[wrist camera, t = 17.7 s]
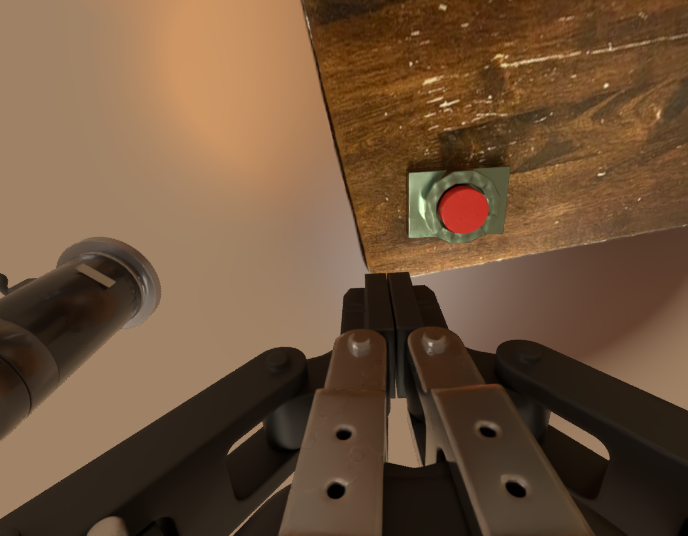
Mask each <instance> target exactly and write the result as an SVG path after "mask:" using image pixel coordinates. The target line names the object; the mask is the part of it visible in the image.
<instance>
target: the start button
mask: <svg viewBox="0 0 688 536" xmlns="http://www.w3.org/2000/svg"><path fill="white" fill-rule="evenodd" d="M488 211H489V206H488V202H487V200H486V198H485V197H484V195H483V194H481V193H480V192H479V191H477V190H476V189H475V188H473V187H470V186H457V187H454V188H452V189H451V190H449V191H448V192H447V193H446V194H445V195H444V196H443V197H442V199H441V201H440V204H439V215H440V218H441V220H442V221H443V223H444V224H445V226H446V227H447V228H448V229H449V230H451V231H452V232H455V233H458V234H467V233H471V232H473V231H475V230H477V229H478V228H479V227H481V226H482V225H483V223H484V222H485V220H486V218H487V216H488Z"/></svg>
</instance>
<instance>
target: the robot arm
mask: <svg viewBox="0 0 688 536" xmlns="http://www.w3.org/2000/svg"><path fill="white" fill-rule="evenodd" d="M7 285H8V279H7V277H6V276H5V275H3V274H1V273H0V291H1V293H3V294H4V295H5V296H4V297H2V298H1V299H0V441H2V440H3V439H4V438H5V437H6V436H7V435H9V434H10V433H11V432H12V431H13V430H14V429H15V428H16V427H17V426H18V425H19V424H20V423H21V422H22V421H23V420H25V419H26V418H27V417H28V416H29V415H30V414H31V413H32V412H33V411H34V410H35V409H36V408H37V407H38V406H39V405H40V404H42V403H43V402H44V401H45V400H46V399H47V398H48V397H49V396H50V395H51V394H52V393H53V392H54V391H55V390H56V389H57V388H58V387H59V386H60V385H61V384H62V383H64V382H65V380H67V378H69V377H70V376H71V375H72V374H73V373H74V372H75V371H76V370H77V369H78V368H79V367H80V366H81V365H83V363H85V362H86V361H87V360H88V359H89V358H90V357H91V356H92V355H93V354H94V353H95V352H96V351H97V350H98V349H99V348H101V347H102V346H103V345H104V344H105V343H106V342H107V341H108V340H109V339H110V338H111V337H112V336H113V335H114V334H115V333H116V332H117V331H119V329H121V328H122V327H123V326H124V325H125V324H126V323H127V322H128V321H129V320H131V319H132V318H133V317H135V316H136V315H137V314H138V313H139V312H140V311H141V309H142V307H143V305H144V302H145V289H144V285H143V282H142V280H141V278H140V277H139V275H138V274H137V272H136V271H135V270H134V269H133V268H132V267H131V266H130V265H129V264H128V263H127V262H125V261H124V260H122V259H121V258H119V257H117V256H115V255H112V254H110V253H106V252H101V251H89V252H85V253H82V254H80V255H78V256H76V257H74V258H72V259H71V260H70V261H69V262H67V263H65V264H63V265H61V266H60V267H58V268H56V269H54V270H52V271H50V272H49V273H47V274H45V275H43V276H41V277H39V278H32V279H26V280H24V281H22V282H21V283H19V284H17V285H15V286H13V287H11V288H8V287H7ZM395 380H396V388H397V396H398V398H406V399H407V409H408V410H407V420H408V425H409V429H410V433H411V437H412V441H413V445H414V449H415V453H416V457H417V461H418V465H419V467H418V468H411V467H406V466H402V465H397V464H392V463H388V415H389V413H390V398H395ZM551 412H553V413H555V414H557V415H558V416H560V417H562V418H564V419H565V420H567V421H569V422H571V423H572V424H574V425H576V426H578V427H579V428H581V429H583V430H584V431H586V432H588V433H589V434H591V435H593V436H595V437H596V438H597V439H599V440H600V441H601V442H602V443H603V444H604V446H605V447H606V449H607V450H608V452H609V456H610V460H607V459H605V458H603V457H602V456H600V455H598V454H597V453H595V452H593V451H592V450H590V449H588V448H587V447H585V446H584V445H582V444H580V443H579V442H577V441H575V440H574V439H572V438H570V437H569V436H567V435H565V434H564V433H562V432H560V431H559V430H557V429H555V428H554V427H552V426H550V425H549V424H548V423H549V418H550V413H551ZM260 422H263V427H262V428H261V429H260V430H258V431H257V432H256V433H255V434H253V435H252V436H251V437H250V438H248V439H247V440H246V441H245V442H243V443H242V444H241V445H240V446H239V447H238V448H236V449H235V450H234V451H232V452H231V453H230V454H229V455H227V454H228V451H229V450H230V448H231V447H232V445H233V444H234V443H235V442H236V441H238V440H239V439H240V438H241V437H243V436H244V435H245V434H246V433H248V432H249V431H250V430H251V429H252V428H254V427H255V426H257V425H258V424H259V423H260ZM294 471H295V473H294V477H293V481H292V484H290V485H288V486H286V487H285V488H283V489H282V490H280V491H279V492H277V493H276V494H275V495H273V496H272V497H271V498H270V499H268V500H267V501H266V502H265V503H264V504H263V505H262V506H261V507H260V508H259V509H258V510H257V511H256V512H255V513H254V514H253V515H252V516H251V517H250V518H249V520H248V521H247V522H246V523H245V524H244V525H243V526H242V527H241V528H240V529H239V530H238V531H237V532H236V533H235V534H234V535H233V536H688V411H687V410H685V409H683V408H681V407H678V406H676V405H674V404H672V403H670V402H668V401H665V400H663V399H661V398H659V397H656V396H654V395H652V394H650V393H648V392H645V391H643V390H641V389H639V388H637V387H634V386H632V385H630V384H628V383H625V382H623V381H621V380H619V379H617V378H614V377H612V376H610V375H607V374H605V373H603V372H601V371H599V370H596V369H594V368H592V367H590V366H588V365H586V364H583V363H581V362H579V361H577V360H575V359H572V358H570V357H568V356H566V355H564V354H561V353H559V352H557V351H555V350H552V349H550V348H548V347H546V346H544V345H541V344H539V343H536V342H532V341H527V340H510V341H506V342H503V343H502V344H500V345H499V346H498V348H497V350H496V354H492V353H486V352H480V351H476V350H472V349H469V348H466V347H465V346H464V344H463V342H462V341H461V339H460V337H459V336H458V335H457V334H455V333H454V332H452V331H450V330H449V329H448V326H447V324H446V321H445V319H444V316H443V314H442V311H441V309H440V306H439V304H438V302H437V299H436V296H435V293H434V292H433V291H432V290H431V289H429V288H428V287H427V286H425V285H416V286H413V285H412V282H411V279H410V275H409V272H397V273H387V278H386V273H377V274H365V288H351V289H349V290H348V292H347V293H346V294H345V295H344V297H343V310H342V322H341V334H340V336H339V337H338V338H337V339H336V340H335V343H334V347H333V350H331V351H330V352H328V353H326V354H324V355H322V356H318V357H315V358H311V359H307V360H306V357H305V355H304V353H303V352H301V351H300V350H298V349H296V348H292V347H278V348H273V349H270V350H268V351H265V352H263V353H262V354H260V355H258V356H257V357H255V358H254V359H252V360H250V361H249V362H247V363H246V364H245V365H243V366H241V367H239V368H238V369H236V370H235V371H233V372H232V373H230V374H228V375H227V376H225V377H224V378H222V379H221V380H219V381H217V382H216V383H214V384H213V385H211V386H210V387H208V388H206V389H205V390H203V391H202V392H200V393H198V394H197V395H195V396H194V397H192V398H191V399H189V400H187V401H186V402H184V403H183V404H181V405H180V406H178V407H176V408H175V409H173V410H172V411H170V412H168V413H167V414H165V415H164V416H162V417H161V418H159V419H157V420H156V421H154V422H153V423H151V424H150V425H148V426H146V427H145V428H143V429H142V430H140V431H139V432H137V433H135V434H134V435H132V436H131V437H129V438H128V439H126V440H124V441H123V442H121V443H120V444H118V445H116V446H115V447H113V448H112V449H110V450H108V451H107V452H105V453H104V454H102V455H101V456H99V457H97V458H96V459H94V460H93V461H91V462H90V463H88V464H86V465H85V466H83V467H82V468H80V469H79V470H77V471H75V472H74V473H72V474H71V475H69V476H68V477H66V478H64V479H63V480H61V481H60V482H58V483H56V484H55V485H53V486H52V487H50V488H49V489H47V490H45V491H44V492H42V493H41V494H39V495H38V496H36V497H34V498H33V499H31V500H30V501H28V502H27V503H25V504H23V505H22V506H20V507H19V508H17V509H15V510H14V511H12V512H11V513H9V514H8V515H6V516H4V517H3V518H1V519H0V536H229V535H230V534H231V533H232V532H233V531H234V530H235V529H236V528H237V527H238V526H239V525H240V524H241V523H242V522H243V521H244V520H245V519H246V518H247V517H248V516H249V515H250V514H251V513H252V512H253V511H254V510H255V509H256V508H257V507H258V506H260V504H262V503H263V502H264V501H265V500H266V498H267V497H269V496H270V495H271V494H272V493H273V492H274V491H275V490H276V489H277V488H278V487H279V486H280V485H281V484H282V483H283V482H284V481H285V480H286V479H287V478H288V477H289V476H290V475H291V474H292V473H293V472H294Z"/></svg>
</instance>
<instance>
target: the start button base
mask: <svg viewBox="0 0 688 536" xmlns="http://www.w3.org/2000/svg"><path fill="white" fill-rule="evenodd" d="M509 176H510V166H508V165H506V164H503V163H497V164H481V165H465V166H449V167H433V168H417V169H406V232H407V235H408V238H424V237H438V238H440V239H442V240H444V241H446V242H448V243H469V242H471V241H473V240H475V239H476V238H478V237H480V236H482V235H483V234H502V233H503V231H504V222H505V212H506V203H507V194H508V185H509ZM457 186H470V187H473V188H475V189H476V190H477V191H479V192H480V193H481V194H483V195H484V197H485V198H486V200H487V202H488V206H489V211H488V216H487V218H486V220H485V222H484V223H483V225H482V226H481V227H479V228H478V229H477V230H475V231H473V232H471V233H467V234H458V233H455V232H452V231H451V230H449V229H448V228H447V227H446V226H445V224H444V223H443V221H442V220H441V218H440V215H439V204H440V201H441V199H442V197H443V196H444V195H445V194H446V193H447V192H448V191H449V190H451V189H452V188H454V187H457Z"/></svg>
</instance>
